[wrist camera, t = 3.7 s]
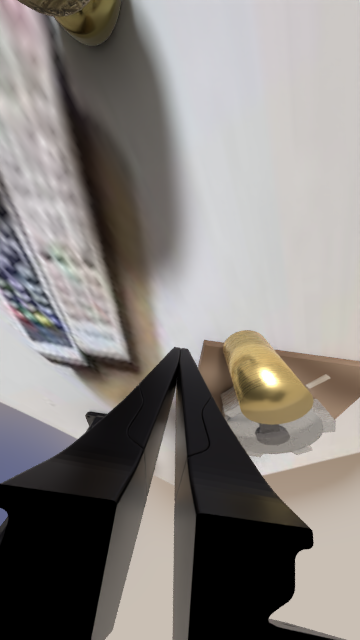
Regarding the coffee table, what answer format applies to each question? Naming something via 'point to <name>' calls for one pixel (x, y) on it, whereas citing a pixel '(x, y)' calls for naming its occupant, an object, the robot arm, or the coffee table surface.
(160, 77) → the coffee table surface
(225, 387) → the nut base
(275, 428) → the ring nut
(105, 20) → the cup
